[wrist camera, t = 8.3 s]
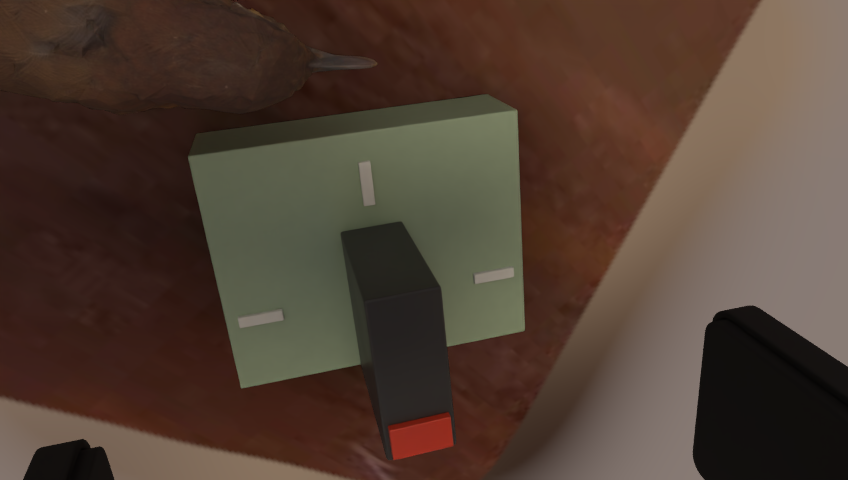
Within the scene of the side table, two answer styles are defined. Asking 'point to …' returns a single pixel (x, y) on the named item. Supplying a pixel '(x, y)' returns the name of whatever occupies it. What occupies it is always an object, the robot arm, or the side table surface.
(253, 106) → the bird sculpture
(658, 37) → the side table surface
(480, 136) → the panel
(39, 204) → the side table surface
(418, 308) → the black red-tipped block
